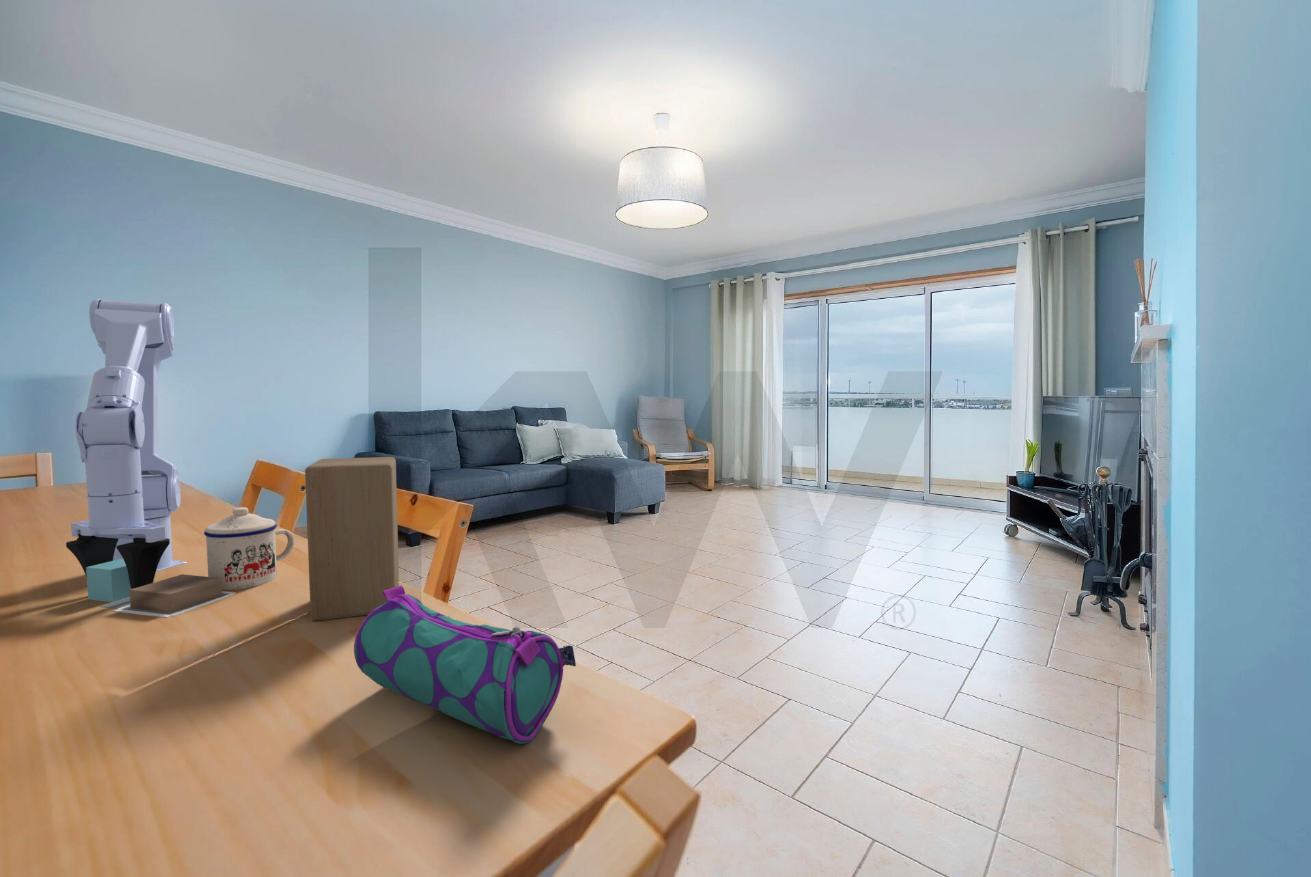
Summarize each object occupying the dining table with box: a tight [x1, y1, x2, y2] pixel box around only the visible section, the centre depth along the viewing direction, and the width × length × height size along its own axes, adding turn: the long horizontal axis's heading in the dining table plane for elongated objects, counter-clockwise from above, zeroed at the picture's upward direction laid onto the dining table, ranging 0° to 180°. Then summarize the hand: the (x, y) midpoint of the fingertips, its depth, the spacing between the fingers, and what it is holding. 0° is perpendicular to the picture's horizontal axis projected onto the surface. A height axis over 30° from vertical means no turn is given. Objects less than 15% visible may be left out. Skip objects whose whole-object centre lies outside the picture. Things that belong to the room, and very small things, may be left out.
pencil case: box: [353, 585, 577, 745], centre depth 55 cm, size 21×9×10 cm, turn 60°
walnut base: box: [129, 573, 223, 613], centre depth 82 cm, size 7×7×2 cm
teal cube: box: [86, 559, 131, 603], centre depth 84 cm, size 4×4×5 cm
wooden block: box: [304, 456, 400, 621], centre depth 81 cm, size 10×10×20 cm
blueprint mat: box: [100, 590, 237, 619], centre depth 82 cm, size 13×10×1 cm
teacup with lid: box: [203, 506, 295, 591], centre depth 92 cm, size 12×9×12 cm
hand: (121, 588), depth 84 cm, fingers open, 7 cm apart
